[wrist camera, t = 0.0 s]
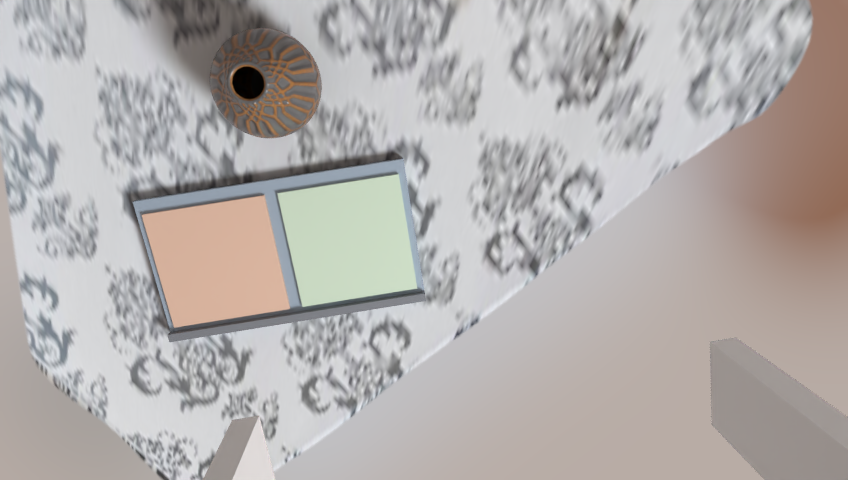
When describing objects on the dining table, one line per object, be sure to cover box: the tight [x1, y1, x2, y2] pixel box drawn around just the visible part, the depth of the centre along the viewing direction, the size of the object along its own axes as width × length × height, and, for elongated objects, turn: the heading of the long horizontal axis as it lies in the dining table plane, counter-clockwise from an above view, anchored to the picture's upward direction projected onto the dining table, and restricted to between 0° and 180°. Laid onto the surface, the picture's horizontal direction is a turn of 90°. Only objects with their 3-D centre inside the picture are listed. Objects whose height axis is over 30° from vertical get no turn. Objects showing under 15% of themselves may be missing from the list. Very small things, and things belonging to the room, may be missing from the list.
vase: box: [210, 28, 322, 138], centre depth 36 cm, size 7×7×9 cm
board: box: [133, 158, 426, 342], centre depth 43 cm, size 11×20×1 cm, turn 98°
